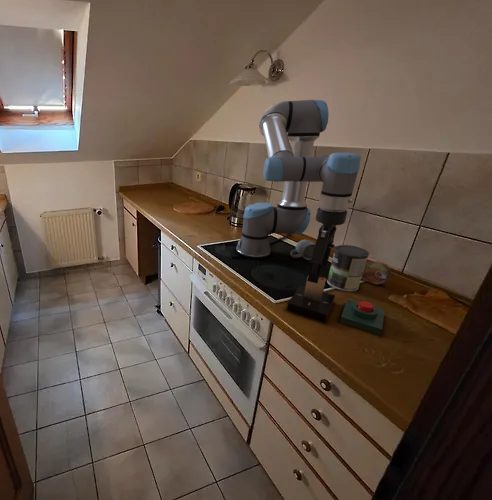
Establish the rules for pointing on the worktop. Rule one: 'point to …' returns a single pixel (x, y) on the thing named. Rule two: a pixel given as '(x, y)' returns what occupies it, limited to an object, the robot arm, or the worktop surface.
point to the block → (363, 317)
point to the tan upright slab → (314, 290)
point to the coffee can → (347, 267)
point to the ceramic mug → (304, 249)
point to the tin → (376, 272)
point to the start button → (365, 306)
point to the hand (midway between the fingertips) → (317, 273)
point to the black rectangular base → (311, 305)
